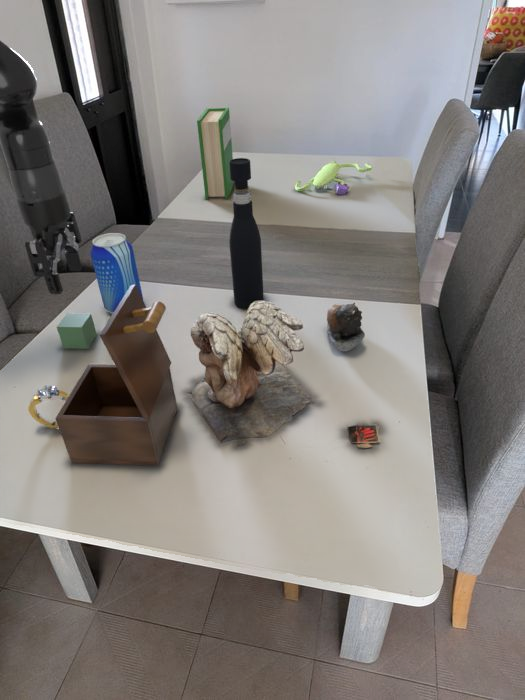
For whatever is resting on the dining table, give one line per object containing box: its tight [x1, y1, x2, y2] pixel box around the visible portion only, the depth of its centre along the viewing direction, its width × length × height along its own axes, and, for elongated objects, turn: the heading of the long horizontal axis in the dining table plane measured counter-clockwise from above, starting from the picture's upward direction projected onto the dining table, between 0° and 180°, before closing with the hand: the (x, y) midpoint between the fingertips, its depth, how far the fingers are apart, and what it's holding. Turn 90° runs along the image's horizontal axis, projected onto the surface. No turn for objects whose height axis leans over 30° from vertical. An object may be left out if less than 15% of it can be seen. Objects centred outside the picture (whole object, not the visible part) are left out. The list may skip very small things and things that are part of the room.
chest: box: [55, 363, 178, 467], centre depth 78 cm, size 13×13×9 cm
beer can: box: [90, 232, 144, 315], centre depth 108 cm, size 8×8×16 cm
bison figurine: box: [326, 302, 366, 352], centre depth 96 cm, size 12×7×10 cm, turn 3°
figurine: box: [294, 160, 373, 195], centre depth 173 cm, size 18×27×6 cm
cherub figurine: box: [186, 300, 315, 448], centre depth 81 cm, size 18×18×18 cm
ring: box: [27, 384, 70, 431], centre depth 80 cm, size 7×3×8 cm, turn 86°
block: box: [56, 312, 98, 350], centre depth 101 cm, size 5×5×5 cm
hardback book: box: [196, 107, 235, 200], centre depth 168 cm, size 18×7×24 cm, turn 176°
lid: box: [99, 284, 172, 419], centre depth 70 cm, size 14×13×5 cm
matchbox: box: [346, 423, 380, 449], centre depth 78 cm, size 5×5×1 cm
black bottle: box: [228, 157, 265, 310], centre depth 104 cm, size 6×6×30 cm
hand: (66, 281), depth 93 cm, fingers open, 8 cm apart
